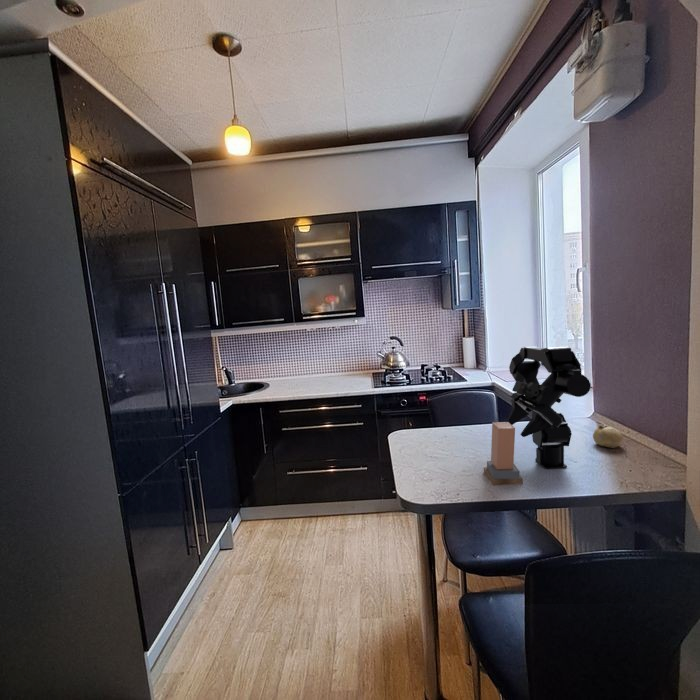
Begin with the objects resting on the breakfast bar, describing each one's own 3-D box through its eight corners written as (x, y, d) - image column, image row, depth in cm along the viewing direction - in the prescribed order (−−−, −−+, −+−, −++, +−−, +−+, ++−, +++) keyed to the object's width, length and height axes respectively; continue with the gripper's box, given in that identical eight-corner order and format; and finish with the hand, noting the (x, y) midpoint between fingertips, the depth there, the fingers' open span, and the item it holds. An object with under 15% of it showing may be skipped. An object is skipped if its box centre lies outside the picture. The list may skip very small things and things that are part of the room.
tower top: (511, 467, 108) (511, 460, 107) (519, 478, 101) (519, 471, 100) (486, 468, 109) (486, 460, 108) (493, 479, 102) (492, 471, 101)
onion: (613, 440, 125) (613, 420, 124) (628, 450, 117) (628, 428, 116) (588, 441, 126) (588, 421, 125) (601, 450, 118) (601, 429, 117)
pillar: (506, 461, 106) (508, 421, 104) (513, 468, 102) (515, 428, 100) (490, 461, 106) (492, 422, 104) (496, 469, 102) (498, 428, 100)
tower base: (510, 473, 109) (510, 465, 109) (522, 485, 101) (522, 478, 101) (483, 474, 109) (483, 467, 109) (493, 487, 101) (493, 479, 101)
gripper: (515, 366, 112) (480, 404, 113) (549, 376, 93) (508, 422, 94) (541, 389, 113) (507, 427, 114) (581, 404, 94) (539, 449, 95)
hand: (514, 430), depth 104 cm, fingers open, 9 cm apart
